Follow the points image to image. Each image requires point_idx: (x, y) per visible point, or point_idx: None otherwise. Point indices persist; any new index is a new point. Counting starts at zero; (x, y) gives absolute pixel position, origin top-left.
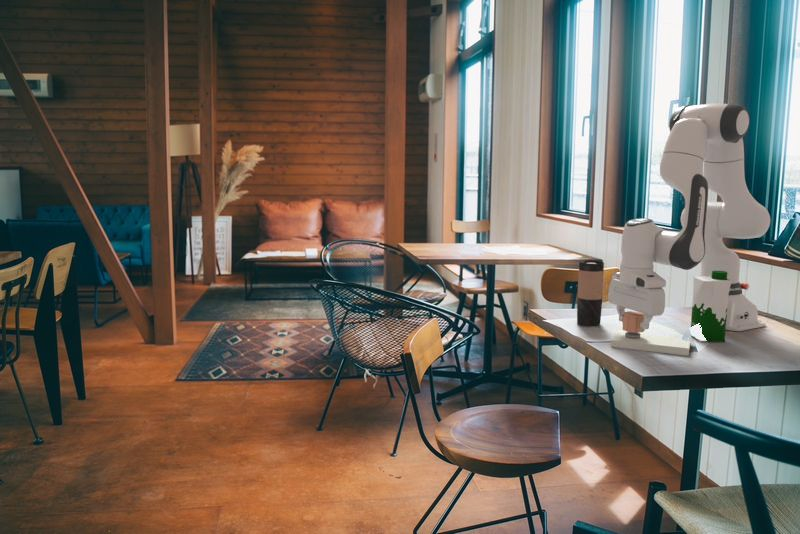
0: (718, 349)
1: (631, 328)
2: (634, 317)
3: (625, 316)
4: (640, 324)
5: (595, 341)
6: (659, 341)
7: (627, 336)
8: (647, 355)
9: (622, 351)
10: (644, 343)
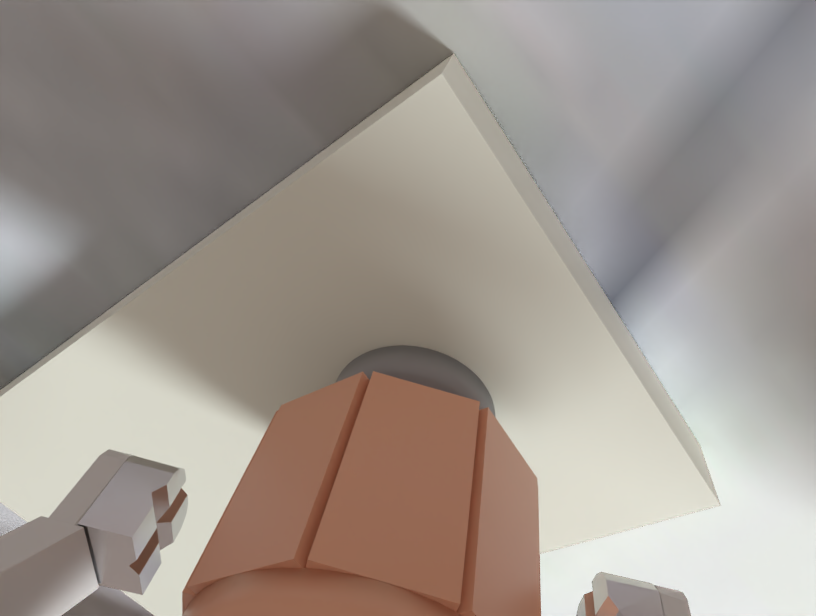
0: (96, 612)
1: (308, 425)
2: (203, 598)
3: (394, 591)
4: (149, 504)
5: (793, 87)
6: (170, 456)
7: (412, 355)
8: (14, 143)
9: (219, 12)
10: (135, 297)
